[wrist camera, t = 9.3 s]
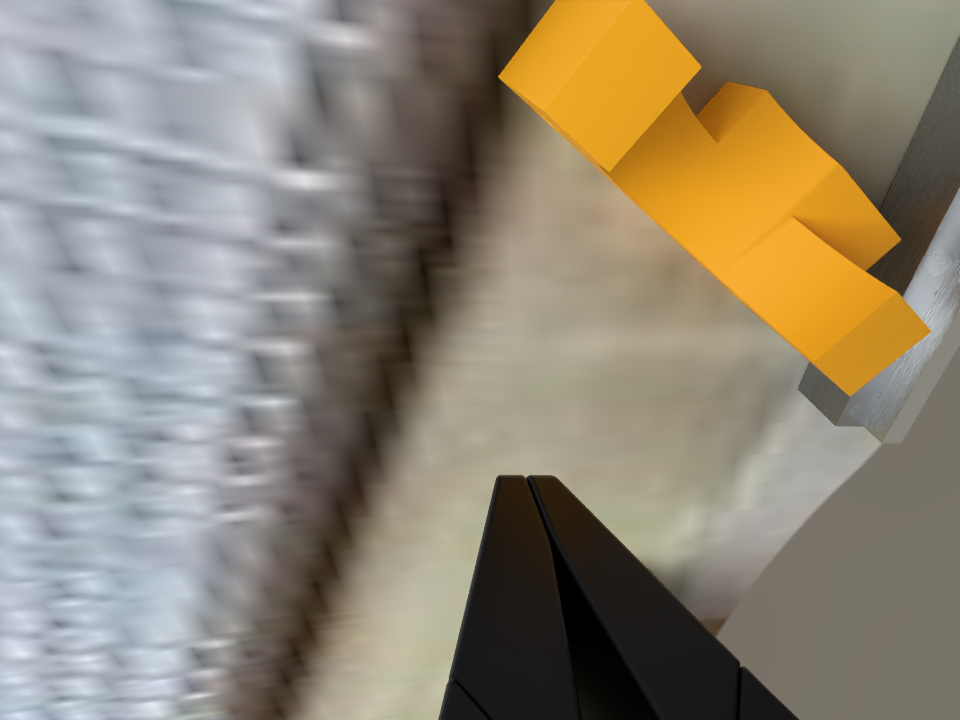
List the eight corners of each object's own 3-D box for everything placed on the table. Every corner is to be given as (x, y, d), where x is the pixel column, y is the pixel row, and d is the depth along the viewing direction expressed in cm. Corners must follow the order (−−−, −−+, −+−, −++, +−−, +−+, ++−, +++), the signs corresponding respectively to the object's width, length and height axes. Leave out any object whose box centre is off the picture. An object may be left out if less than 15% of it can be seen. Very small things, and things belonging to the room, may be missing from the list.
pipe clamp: (834, 208, 21) (992, 282, 15) (737, 298, 22) (849, 396, 17) (601, -64, 16) (710, -99, 10) (497, 76, 17) (542, 110, 12)
